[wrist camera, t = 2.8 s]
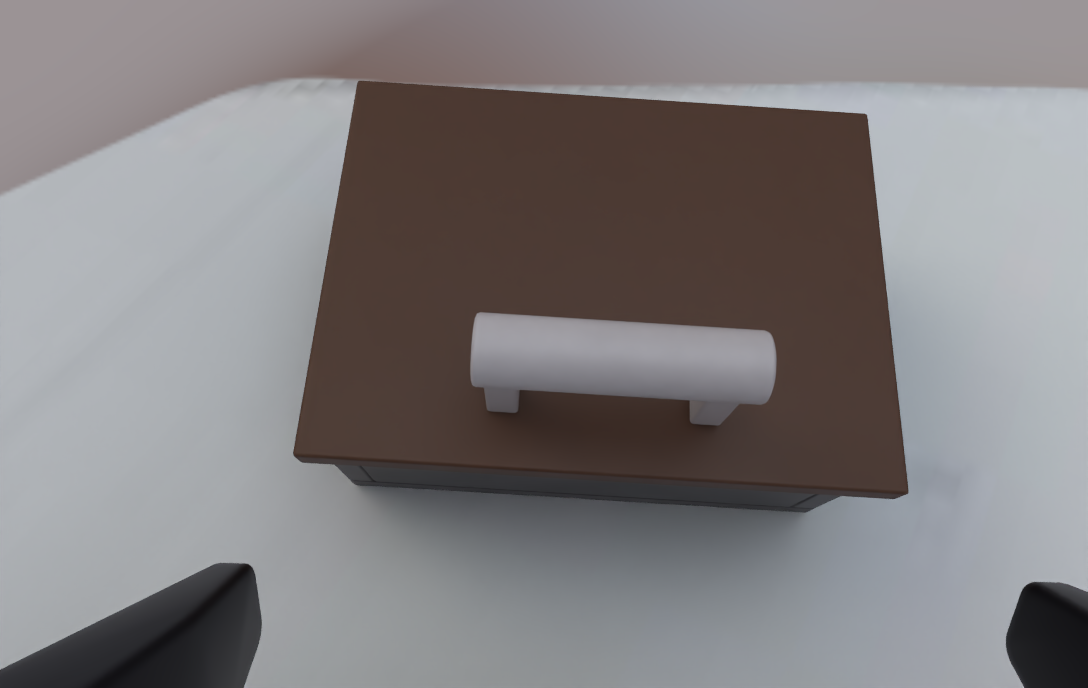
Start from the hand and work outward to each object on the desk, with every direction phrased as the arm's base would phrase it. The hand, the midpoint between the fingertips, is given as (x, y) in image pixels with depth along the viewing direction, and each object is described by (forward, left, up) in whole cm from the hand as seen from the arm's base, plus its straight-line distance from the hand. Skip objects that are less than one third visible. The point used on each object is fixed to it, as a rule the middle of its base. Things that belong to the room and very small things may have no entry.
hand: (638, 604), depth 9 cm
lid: (+6, -5, -8) cm, 11 cm away
